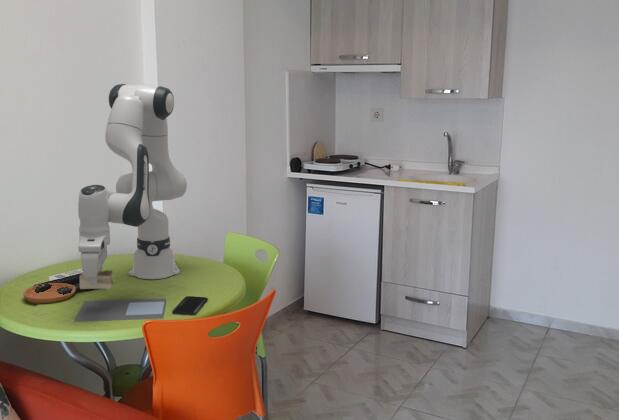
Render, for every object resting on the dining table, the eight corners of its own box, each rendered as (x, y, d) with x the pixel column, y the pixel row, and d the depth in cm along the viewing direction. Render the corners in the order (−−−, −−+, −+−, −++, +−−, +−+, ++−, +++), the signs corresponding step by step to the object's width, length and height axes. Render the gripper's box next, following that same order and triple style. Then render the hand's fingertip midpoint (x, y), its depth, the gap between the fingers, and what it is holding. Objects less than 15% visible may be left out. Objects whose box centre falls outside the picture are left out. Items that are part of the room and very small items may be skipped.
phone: (208, 297, 205) (195, 313, 190) (208, 300, 205) (195, 316, 191) (186, 295, 206) (170, 311, 191) (186, 299, 206) (170, 315, 191)
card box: (83, 283, 192) (82, 270, 191) (112, 283, 194) (112, 270, 193) (79, 288, 187) (79, 276, 186) (110, 288, 189) (109, 275, 188)
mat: (84, 302, 199) (84, 300, 199) (166, 299, 204) (166, 297, 204) (73, 323, 182) (73, 321, 182) (163, 320, 186) (163, 318, 186)
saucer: (75, 288, 213) (75, 280, 213) (76, 304, 199) (75, 295, 198) (25, 293, 207) (24, 284, 207) (22, 309, 193) (21, 300, 192)
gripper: (90, 229, 197) (92, 270, 200) (77, 248, 177) (79, 293, 180) (111, 229, 198) (112, 270, 201) (99, 248, 178) (101, 292, 181)
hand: (96, 281), depth 190 cm, fingers closed on card box, 5 cm apart
